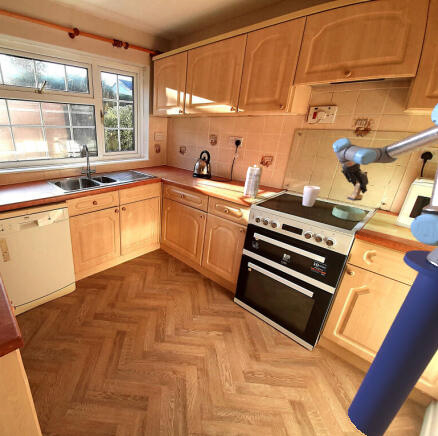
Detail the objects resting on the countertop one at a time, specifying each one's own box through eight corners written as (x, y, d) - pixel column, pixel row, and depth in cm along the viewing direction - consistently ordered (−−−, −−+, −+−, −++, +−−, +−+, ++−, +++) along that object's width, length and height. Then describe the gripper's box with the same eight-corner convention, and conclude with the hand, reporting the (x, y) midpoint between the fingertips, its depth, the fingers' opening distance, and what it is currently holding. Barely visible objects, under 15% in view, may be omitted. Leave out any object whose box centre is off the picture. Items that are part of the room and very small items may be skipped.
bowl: (365, 223, 140) (368, 215, 138) (332, 217, 148) (335, 210, 146) (360, 216, 152) (363, 208, 151) (330, 211, 160) (333, 203, 158)
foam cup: (296, 203, 173) (301, 186, 168) (305, 202, 176) (310, 185, 172) (309, 208, 165) (314, 189, 160) (318, 206, 168) (323, 188, 164)
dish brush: (353, 200, 142) (362, 175, 137) (346, 198, 146) (355, 173, 141) (361, 200, 144) (370, 175, 138) (354, 198, 147) (363, 173, 142)
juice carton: (257, 196, 188) (263, 165, 179) (255, 198, 182) (261, 166, 173) (245, 194, 193) (250, 163, 184) (242, 196, 187) (247, 165, 178)
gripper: (331, 165, 141) (344, 192, 151) (358, 170, 128) (370, 199, 137) (341, 156, 141) (354, 183, 151) (369, 160, 127) (381, 190, 137)
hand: (362, 191), depth 144 cm, fingers closed on dish brush, 2 cm apart
